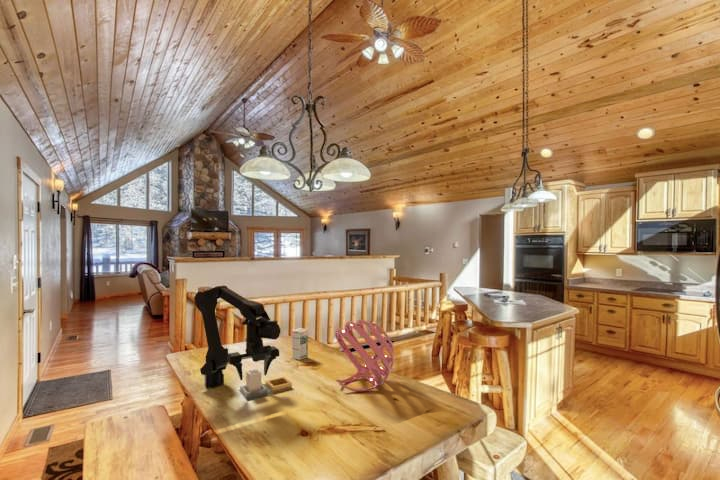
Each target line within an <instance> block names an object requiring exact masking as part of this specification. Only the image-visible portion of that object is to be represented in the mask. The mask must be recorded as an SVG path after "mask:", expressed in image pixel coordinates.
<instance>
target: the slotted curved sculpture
mask: <svg viewBox="0 0 720 480" xmlns="http://www.w3.org/2000/svg"><path fill="white" fill-rule="evenodd" d="M364 325H365V326H366V327H367V328H368V329H369V330H370V331H371V333H372V335H373V337H375V339H376V340H377V342H379V344H380V346H379V345H378V344H377V343H376V342H375V340H374V339H373V338H372V336H370V334H369V333H368V332H367V331H366V330H365V327H364ZM352 329H353V330H354V331H356V333H358V335H360V336H361V337H362V338H363V339H364V341H365V343H366V344H367V345H368V346H369V348H370V349H371V350H372V351H373V352H374V355H373V356H370V354H369V353H368V352H367V351H366V349H365V348H364V347H363V346H362V344H361V343H360V341H359V340H358V339H357V337H356V335H355V334H354V332H353V330H352ZM378 330H379V331H380V332H379V331H378ZM382 334H383V335H382ZM334 337H335V339H336V341H337V343H338V345H339V347H340V348H341V349H342V351H343V353H344V354H345V355H346V357H347V358H348V359H349V361H350V362H351V363H352V364H353V365H354V367H355V368H356V369H357V372H356V373H355V374H353V375H352V376H350V377H348V378H345V379H336V380H335V381H336V382H337V383H338V384H339V385H340V386H341V387H343V389H346V390H349V391H351V392H352V391H353V392H360V393H363V392H369V391H371V390H375V389H376V388H378V387H379V386H381V385H382V384H383V383H384V382H385V381H386V380H387V379H388V377H389V376H390V374H391V372H392V370H393V367H394V363H395V351H394V344H393V342H392V339H391V338H390V336H389V335H388V334H387V332H386V331H385V330H384V329H383V328H382V327H381V326H380V325H379V324H377V323H375V322H373V321H367V320H365V319H358V320H357V319H356V322H354V321H347V322H346V323H344V328H342V327H338V328H337V329H336V330H335V331H334ZM344 339H345V340H346V341H347V342H348V344H349V345H350V346H351V347H352V348H353V349H354V350H355V352H356V353H357V354H358V355H359V356H360V358H361V359H362V361H364V363H365V365H362V364H361V363H360V361H359V360H358V359H357V358H356V357H355V355H354V354H353V353H352V351H351V350H350V349H349V347H348V345H347V344H346V342H345V340H344ZM386 339H387V340H386ZM384 348H385V349H386V351H387V352H388V354H389V356H388V355H387V354H385V353H384V351H383V350H384ZM378 360H380V362H381V363H382V365H383V367H384V368H383V367H382V365H379V363H378ZM370 371H371V373H372V375H371V373H370ZM382 376H383V377H382ZM361 377H363V378H365V379H366V380H367V381H369V383H371V385H372V386H371V387H367V388H354V387H350V386H347V385H345V384H348V383H351V382H354V381H357V380H358V379H359V378H361Z"/></svg>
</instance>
